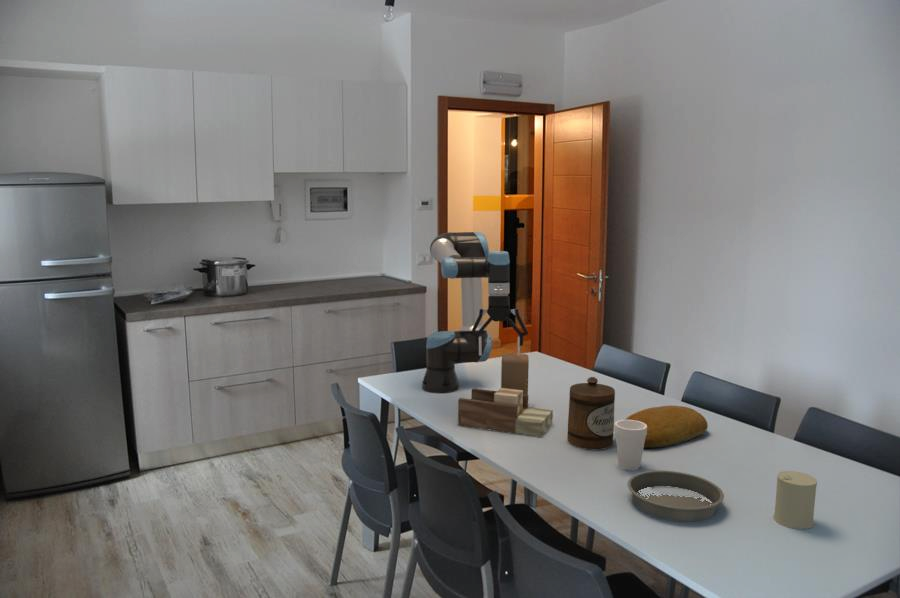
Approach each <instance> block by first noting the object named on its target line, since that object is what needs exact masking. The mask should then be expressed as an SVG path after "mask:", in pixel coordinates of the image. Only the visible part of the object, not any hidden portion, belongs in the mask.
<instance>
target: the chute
mask: <svg viewBox="0 0 900 598" xmlns="http://www.w3.org/2000/svg"><path fill="white" fill-rule="evenodd" d="M497 391H498V390H492V389H491V390H490V389H482V388H475V387H473V388H471V392H470V394H471V395H470V396H471V399H470V398H464V397H460V398H458V403H457V404H458V407H457V409H458V411H457V414H458V415H457V416H458V417H457V418H458V419H457V424H458V425H460V426H459V427H465V426H467V428H472V427H475V428H474V429H479V428H482V429H481V430H486V429H491V430H490V431H493V430H497V431H496V432H500V431H504V432H503V433H507V432H511V433H510V434H514V433H518V434H517V435H521V434H526V435H525V436H528V435H532V436H531V437H535V436H539V437H538V438H542V437H543V436H544V434H546V432H547V431H548V430H547V429H549V428H550V427H551V426H552V425H553V414H554V413H553V412H554V411H553V409H547V408H538V407H530V406H529V394H528V395H524V394H523V410H522V411H521V412H520V413H519V414H518V405H512V404H504V403H497V402H494V394H495V393H496V392H497ZM551 424H552V425H551ZM550 425H551V426H550ZM546 430H547V431H546ZM545 431H546V432H545ZM542 435H543V436H542ZM541 436H542V437H541Z"/></svg>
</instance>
